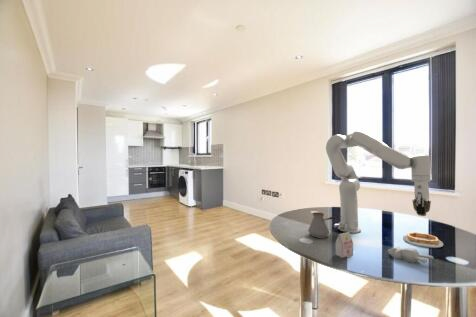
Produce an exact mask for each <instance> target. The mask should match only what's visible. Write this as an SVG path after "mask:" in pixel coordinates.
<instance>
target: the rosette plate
mask: <svg viewBox="0 0 476 317" xmlns="http://www.w3.org/2000/svg"><path fill="white" fill-rule="evenodd" d="M402 238H403V241H404V242H405V243H408V244H410V245H412V246H417V247H419V248H425V249H427V248H428V249H441V247H442V248H443V247H444V243H443V241H441V240H440V239H439V238H438V237H437V236H435V235H432V234H428V233H422V232H415V231H414V232H407V233H406V234H405V235H403V236H402Z"/></svg>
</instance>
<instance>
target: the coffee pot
mask: <svg viewBox="0 0 476 317" xmlns="http://www.w3.org/2000/svg"><path fill="white" fill-rule="evenodd" d="M312 215H313V218H312V220H311V223H310V224H309V227H308V230H307V231H308V234H310V236H311V237H313V236H314V237H313V238H315V237H317V238H316V239H325V238H326V237H328V235H329V234H330V230H329V228H328V226H327V224H326V221H330V220H335V219H341V214H339V215H333V216H331V217H328V218H327V217H325V218H324V216H325V213H323V212H316V211H315V212H312ZM342 219H343V217H342Z"/></svg>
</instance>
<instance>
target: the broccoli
mask: <svg viewBox="0 0 476 317" xmlns="http://www.w3.org/2000/svg"><path fill="white" fill-rule="evenodd" d="M431 202H432V200H430V199H429V200H428V201H424V207H425V214H424V215H423V214H417V215H418V216H420V217H426V216H427V213H429V212H430V211H431V210H430V209H431ZM412 206H413V207H412V208H413V209H414V211H415V212H417V211H416V206H417V201H416V200H415V198H414V199H412Z"/></svg>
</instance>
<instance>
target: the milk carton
mask: <svg viewBox="0 0 476 317" xmlns="http://www.w3.org/2000/svg"><path fill="white" fill-rule="evenodd" d="M335 255H336V256H338V257H340V258H342V259H344V258H347V257H351V256H354V241H353V239H352V235H351V233H350V232H343V233H338V235H337V238H336V239H335Z"/></svg>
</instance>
